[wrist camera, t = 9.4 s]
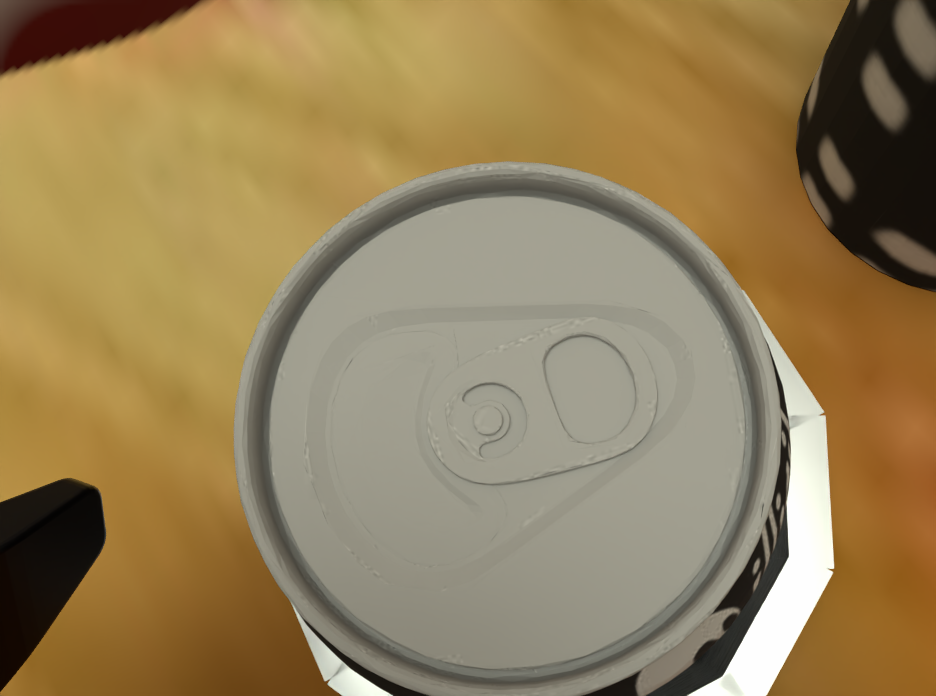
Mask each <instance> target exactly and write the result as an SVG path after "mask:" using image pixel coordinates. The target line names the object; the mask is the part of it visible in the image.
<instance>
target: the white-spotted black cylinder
mask: <svg viewBox="0 0 936 696" xmlns="http://www.w3.org/2000/svg"><path fill="white" fill-rule="evenodd" d="M796 151H797V157H798V163H799V169H800V175H801V179H802V181H803V184H804V186H805V188H806V191H807V193H808V196H809V198H810V201H811V203H812V205H813V207H814V208H815V210H816V211H817V213H818V214H819V216H820V217H821V219H822V220H823V222H824V223H825V225H826V226H827V228H828V229H829V230H830V231H831V232H832V233H833V234H834V235H835V236H836V237H837V238H838V239H839V240H840V241H841V242H842V243H843V244H844V245H845V246H846V247H847V248H848V249H849V250H850V251H851V252H852V253H854V254H855V255H856V256H858V257H859V258H861V259H862V260H864V261H865V262H867V263H868V264H869V265H871V266H872V267H874V268H875V269H877V270H878V271H880V272H882V273H885V274H887V275H889V276H891V277H893V278H896V279H898V280H900V281H902V282H904V283H906V284H909V285H912V286H916V287H920V288H924V289H928V290H931V291H935V292H936V0H850V2H849V5H848V7H847V9H846V11H845V13H844V15H843V17H842V19H841V22H840V24H839V26H838V28H837V30H836V32H835V34H834V37H833V39H832V41H831V43H830V45H829V47H828V49H827V51H826V54H825V56H824V58H823V60H822V62H821V64H820V66H819V69H818V71H817V73H816V75H815V77H814V79H813V81H812V83H811V86H810V88H809V90H808V92H807V94H806V96H805V100H804V103H803V106H802V110H801V113H800V117H799V120H798V128H797V146H796Z"/></svg>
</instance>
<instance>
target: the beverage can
mask: <svg viewBox="0 0 936 696" xmlns="http://www.w3.org/2000/svg"><path fill="white" fill-rule="evenodd" d="M234 457H235V466H236V475H237V482H238V487H239V493H240V498H241V503H242V506H243V509H244V512H245V515H246V518H247V521H248V524H249V527H250V530H251V533H252V535H253V538H254V541H255V543H256V545H257V547H258V549H259V551H260V553H261V555H262V557H263V559H264V561H265V563H266V565H267V567H268V569H269V570H270V572H271V574H272V575H273V577H274V579H275V581H276V582H277V584H278V586H279V587H280V588H281V590H282V591H283V592H284V594H285V595H286V596H287V598H288V599H289V600H290V602H291V603H292V604H293V606H294V607H295V608H296V610H297V611H298V613H299V614H300V616H301V617H302V619H303V620H304V622H305V623H306V625H307V626H308V627H309V628H310V629H311V631H312V632H313V633H314V634H315V635H316V636H317V637H318V638H319V639H320V640H321V641H322V642H323V643H324V644H325V645H326V646H327V647H328V648H329V649H330V650H331V651H332V652H333V653H334V654H335V655H336V656H337V657H338V658H339V659H340V660H341V661H342V662H344V663H345V664H346V665H347V666H348V667H349V668H350V669H351V670H353V671H354V672H356V673H357V674H359V675H360V676H362V677H363V678H365V679H366V680H368V681H369V682H371V683H372V684H374V685H375V686H377V687H379V688H380V689H382V690H384V691H386V692H387V693H389V694H391V695H393V696H645V695H647V694H649V693H651V692H652V691H654V690H656V689H657V688H659V687H661V686H662V685H664V684H666V683H667V682H669V681H670V680H672V679H673V678H674V677H676V676H677V675H679V674H680V673H681V672H683V671H684V670H686V669H687V668H688V667H689V666H690V665H692V664H693V663H694V662H695V661H696V660H698V659H699V658H700V657H701V656H702V655H703V654H704V653H705V652H706V651H707V650H708V649H709V648H710V647H712V646H713V645H714V644H715V643H716V641H717V640H718V639H719V638H720V637H721V636H722V635H723V634H724V633H725V632H726V631H727V630H728V629H729V627H730V626H731V625H732V623H733V622H734V621H735V619H736V618H737V617H738V615H739V614H740V612H741V611H742V609H743V608H744V607H745V605H746V604H747V602H748V601H749V599H750V598H751V596H752V595H753V593H754V591H755V589H756V587H757V585H758V583H759V581H760V579H761V577H762V575H763V573H764V571H765V569H766V567H767V565H768V563H769V560H770V558H771V555H772V553H773V550H774V548H775V545H776V542H777V539H778V536H779V532H780V529H781V525H782V521H783V517H784V513H785V509H786V503H787V497H788V491H789V482H790V469H791V441H790V428H789V418H788V413H787V407H786V401H785V395H784V390H783V385H782V382H781V379H780V376H779V373H778V370H777V368H776V365H775V362H774V359H773V356H772V353H771V351H770V348H769V345H768V343H767V341H766V339H765V337H764V335H763V332H762V329H761V327H760V324H759V321H758V319H757V317H756V315H755V314H754V312H753V310H752V308H751V306H750V305H749V303H748V301H747V299H746V297H745V296H744V294H743V292H742V290H741V289H740V287H739V285H738V284H737V282H736V281H735V279H734V278H733V277H732V275H731V274H730V272H729V271H728V270H727V268H726V267H725V265H724V264H723V263H722V262H721V261H720V259H719V258H718V257H717V256H716V255H715V254H714V253H713V252H712V251H711V250H710V248H709V247H708V246H707V245H706V244H705V243H704V242H703V241H702V240H701V239H700V238H699V237H698V236H697V235H696V234H695V233H694V232H693V231H692V230H691V229H689V228H688V227H687V226H686V225H685V224H683V223H682V222H681V221H680V220H679V219H677V218H676V217H675V216H674V215H673V214H671V213H670V212H668V211H667V210H665V209H664V208H662V207H660V206H659V205H657V204H655V203H654V202H652V201H650V200H649V199H647V198H645V197H644V196H642V195H640V194H639V193H637V192H635V191H633V190H630V189H628V188H626V187H624V186H621V185H619V184H617V183H615V182H612V181H610V180H607V179H604V178H602V177H599V176H596V175H592V174H589V173H586V172H583V171H579V170H576V169H571V168H566V167H561V166H556V165H550V164H544V163H525V162H496V163H482V164H472V165H467V166H461V167H456V168H451V169H445V170H442V171H438V172H435V173H432V174H428V175H425V176H422V177H418V178H415V179H413V180H411V181H408V182H406V183H404V184H402V185H399V186H397V187H395V188H393V189H391V190H388V191H386V192H384V193H382V194H380V195H378V196H377V197H375V198H373V199H372V200H370V201H369V202H367V203H365V204H364V205H362V206H360V207H359V208H357V209H355V210H354V211H352V212H351V213H350V214H348V215H347V216H346V217H344V218H343V219H342V220H341V221H339V222H338V223H337V224H335V225H334V226H333V227H331V228H330V229H329V230H328V231H327V232H326V233H325V234H324V235H323V236H322V237H321V238H320V239H319V240H318V241H317V242H316V243H315V244H314V245H313V246H312V247H311V248H310V249H309V250H308V251H307V252H306V253H305V254H304V255H303V257H302V258H301V259H300V260H299V261H298V262H297V263H296V264H295V265H294V266H293V268H292V269H291V271H290V272H289V273H288V275H287V276H286V278H285V279H284V280H283V282H282V283H281V285H280V286H279V288H278V289H277V291H276V293H275V294H274V296H273V298H272V299H271V301H270V303H269V305H268V307H267V308H266V310H265V312H264V314H263V316H262V318H261V319H260V321H259V324H258V326H257V329H256V331H255V334H254V336H253V339H252V341H251V344H250V346H249V349H248V351H247V354H246V357H245V361H244V365H243V369H242V373H241V378H240V384H239V389H238V394H237V399H236V406H235V420H234Z"/></svg>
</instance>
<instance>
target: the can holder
mask: <svg viewBox="0 0 936 696" xmlns="http://www.w3.org/2000/svg"><path fill="white" fill-rule="evenodd" d="M740 288H741V287H740ZM742 292H743V294H744V296H745V297H746V299H747V301H748V303H749V305H750V306H751V308H752V310H753V312H754V314H755V315H756V317H757V319H758V321H759V324H760V327H761V329H762V332H763V335H764V337H765V339H766V341H767V343H768V345H769V348H770V351H771V353H772V356H773V359H774V362H775V365H776V368H777V370H778V373H779V376H780V379H781V382H782V385H783V390H784V395H785V401H786V407H787V413H788V418H789V428H790V441H791V469H790V482H789V491H788V497H787V503H786V509H785V513H784V517H783V521H782V525H781V529H780V532H779V536H778V539H777V542H776V545H775V548H774V550H773V553H772V555H771V558H770V560H769V563H768V565H767V567H766V569H765V571H764V573H763V575H762V577H761V579H760V581H759V583H758V585H757V587H756V589H755V591H754V593H753V595H752V596H751V598H750V599H749V601H748V602H747V604H746V605H745V607H744V608H743V609H742V611H741V612H740V614H739V615H738V617H737V618H736V619H735V621H734V622H733V623H732V625H731V626H730V627H729V629H728V630H727V631H726V632H725V633H724V634H723V635H722V636H721V637H720V638H719V639H718V640H717V641H716V643H715V644H714V645H713V646H712V647H710V648H709V649H708V650H707V651H706V652H705V653H704V654H703V655H702V656H701V657H700V658H699V659H698V660H696V661H695V662H694V663H693V664H692V665H690V666H689V667H688V668H687V669H686V670H684V671H683V672H681V673H680V674H679V675H677V676H676V677H674V678H673V679H672V680H670V681H669V682H667V683H666V684H664V685H662V686H661V687H659V688H657V689H656V690H654V691H652V692H651V693H649V694H647V695H645V696H766V695H767V693H768V691H769V689H770V688H771V686H772V684H773V682H774V680H775V678H776V677H777V675H778V673H779V671H780V669H781V667H782V666H783V664H784V662H785V660H786V658H787V656H788V655H789V653H790V651H791V649H792V647H793V645H794V644H795V642H796V640H797V638H798V636H799V634H800V633H801V631H802V629H803V627H804V625H805V623H806V621H807V620H808V618H809V616H810V614H811V612H812V610H813V609H814V607H815V605H816V603H817V601H818V599H819V598H820V596H821V594H822V592H823V590H824V588H825V587H826V585H827V583H828V581H829V579H830V577H831V576H832V574H833V572H832V571H830V570H828V569H834V559H833V541H832V524H831V506H830V488H829V471H828V453H827V435H826V418H825V416H819V415H821V414H822V413H824V411H823V410H822V408H821V407H820V405H819V404H818V402H817V401H816V399H815V397H814V396H813V394H812V393H811V391H810V390H809V388H808V387H807V385H806V384H805V382H804V381H803V379H802V378H801V376H800V375H799V373H798V372H797V370H796V369H795V367H794V366H793V364H792V363H791V361H790V360H789V358H788V357H787V355H786V354H785V352H784V351H783V349H782V348H781V346H780V345H779V343H778V341H777V340H776V338H775V337H774V335H773V334H772V332H771V331H770V329H769V328H768V326H767V325H766V323H765V322H764V320H763V319H762V317H761V316H760V314H759V313H758V311H757V310H756V308H755V307H754V305H753V304H752V302H751V301H750V299H749V298H748V296H747V295H746V293H745V292H744V290H742ZM291 604H292V603H291ZM292 606H293V604H292ZM293 608H294V611H295V613H296V615H297V618H298V620H299V622H300V625H301V627H302V629H303V632H304V634H305V636H306V639H307V641H308V643H309V646H310V648H311V650H312V653H313V655H314V657H315V660H316V662H317V664H318V667H319V669H320V671H321V674H322V676H323V678H324V681H327V680H329V679H330V681H329V682H328V684H327V685H329V686H330V687H331V688H333V689H334V690H335V691H337V692H338V693H339V694H341V695H342V696H393V695H391V694H389V693H387V692H386V691H384V690H382V689H380V688H379V687H377V686H375V685H374V684H372V683H371V682H369V681H368V680H366V679H365V678H363V677H362V676H360V675H359V674H357V673H356V672H354V671H353V670H351V669H350V668H349V667H348V666H347V665H346V664H345V663H344V662H342V661H341V660H340V659H339V658H338V657H337V656H336V655H335V654H334V653H333V652H332V651H331V650H330V649H329V648H328V647H327V646H326V645H325V644H324V643H323V642H322V641H321V640H320V639H319V638H318V637H317V636H316V635H315V634H314V633H313V632H312V631H311V629H310V628H309V627H308V626H307V625H306V623H305V622H304V620H303V619H302V617H301V616H300V614H299V613H298V611H297V610H296V608H295V607H294V606H293Z"/></svg>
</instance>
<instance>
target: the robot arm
mask: <svg viewBox="0 0 936 696" xmlns="http://www.w3.org/2000/svg"><path fill="white" fill-rule="evenodd" d="M105 539H106V528H105V520H104V512H103V504H102V497H101V493H100V491H99V490H98V488H96V487H95V486H93V485H90V484H87V483H84V482H82V481H79V480H76V479H72V478H65V479H61V480H58V481H55V482H53V483H50V484H47V485H45V486H42V487H40V488H37V489H34V490H32V491H29V492H26V493H24V494H21V495H18V496H16V497H13V498H11V499H8V500H5V501H3V502H0V692H1V691H2V689H3V688H4V687H5V686H6V685H7V683H8V682H9V681H10V680H11V679H12V677H13V676H14V675H15V674H16V672H17V671H18V670H19V669H20V667H21V666H22V665H23V664H24V662H25V661H26V660H27V659H28V657H29V656H30V655H31V653H32V652H33V651H34V649H35V648H36V646H37V645H38V644H39V642H40V641H41V639H42V638H43V637H44V635H45V634H46V632H47V631H48V629H49V628H50V626H51V625H52V623H53V622H54V620H55V619H56V617H57V616H58V615H59V613H60V612H61V610H62V609H63V607H64V606H65V604H66V603H67V601H68V600H69V598H70V597H71V595H72V594H73V593H74V591H75V590H76V588H77V587H78V585H79V584H80V582H81V581H82V579H83V578H84V576H85V575H86V573H87V572H88V571H89V569H90V568H91V566H92V565H93V563H94V562H95V560H96V559H97V557H98V556H99V554H100V553H101V551H102V549H103V546H104V543H105Z"/></svg>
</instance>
